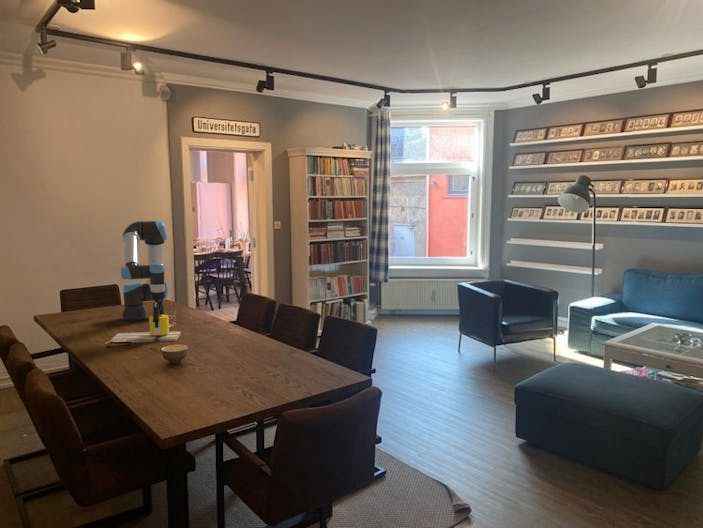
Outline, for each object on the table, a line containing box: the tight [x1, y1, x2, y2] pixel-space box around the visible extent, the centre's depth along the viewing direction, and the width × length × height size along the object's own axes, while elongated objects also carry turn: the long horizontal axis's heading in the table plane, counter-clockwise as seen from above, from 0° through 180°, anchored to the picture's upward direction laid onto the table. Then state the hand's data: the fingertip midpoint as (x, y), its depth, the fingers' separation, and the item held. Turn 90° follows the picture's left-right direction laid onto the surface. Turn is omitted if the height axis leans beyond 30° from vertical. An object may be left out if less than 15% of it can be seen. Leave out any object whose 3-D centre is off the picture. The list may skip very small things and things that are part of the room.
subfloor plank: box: [109, 330, 182, 344], centre depth 289 cm, size 16×34×2 cm, turn 98°
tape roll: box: [148, 313, 170, 335], centre depth 290 cm, size 10×10×9 cm
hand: (159, 330), depth 290 cm, fingers closed on tape roll, 10 cm apart
